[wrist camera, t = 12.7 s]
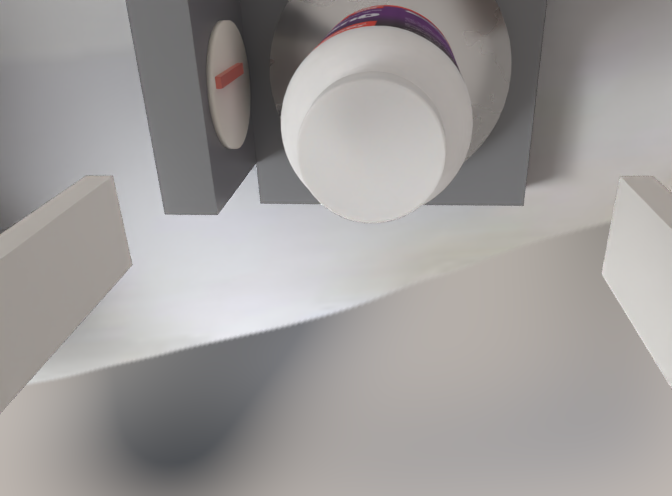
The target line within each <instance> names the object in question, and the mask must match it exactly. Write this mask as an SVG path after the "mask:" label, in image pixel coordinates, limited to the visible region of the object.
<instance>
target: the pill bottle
mask: <svg viewBox="0 0 672 496" xmlns="http://www.w3.org/2000/svg"><path fill="white" fill-rule="evenodd" d="M472 128H473V115H472V106H471V100H470V97H469V93H468V90H467V87H466V84H465V82H464V79H463V77H462V75H461V73H460V70H459V68H458V65H457V63H456V60H455V58H454V55H453V52H452V49H451V47H450V45H449V43H448V41H447V40H446V38H445V36H444V35H443V34H442V32H441V31H440V30H439V28H438V27H437V26H436V25H435V24H434V23H433V22H432V21H430V20H429V19H428V18H426V17H425V16H423V15H422V14H420V13H418V12H416V11H414V10H412V9H409V8H406V7H403V6H398V5H387V4H383V5H374V6H369V7H366V8H363V9H360V10H358V11H356V12H354V13H352V14H350V15H348V16H347V17H345V18H344V19H343V20H341V21H340V22H339V23H338V24H337V25H336V26H335V27H334V28H333V29H332V30H331V31H330V32H329V33H328V34H327V36H326V37H325V38H324V39H323V40H322V41H321V42H320V43H319V44H318V45H317V46H316V47H315V48H314V50H313V51H312V52H311V53H310V54H309V55H308V56H307V57H306V58H305V59H304V61H303V62H302V63H301V64H300V66H299V67H298V69H297V70H296V72H295V73H294V75H293V77H292V79H291V81H290V83H289V85H288V87H287V90H286V93H285V96H284V100H283V105H282V111H281V135H282V141H283V145H284V149H285V152H286V155H287V157H288V160H289V162H290V164H291V166H292V168H293V170H294V171H295V173H296V175H297V176H298V177H299V179H300V180H301V181H302V183H303V184H304V185H305V186H306V187H307V188H308V189H309V191H310V192H311V193H312V195H313V196H314V197H315V198H316V199H317V200H318V201H319V202H320V203H321V204H322V205H323V206H325V207H326V208H327V209H329V210H330V211H332V212H333V213H335V214H337V215H339V216H341V217H343V218H346V219H349V220H352V221H356V222H363V223H382V222H388V221H392V220H395V219H398V218H401V217H403V216H406V215H407V214H409V213H411V212H413V211H414V210H416V209H417V208H419V207H420V206H422V205H424V204H426V203H427V202H429V201H430V200H432V199H433V198H435V197H436V196H437V195H438V194H439V193H440V192H442V191H443V190H444V189H445V188H446V187H447V186H448V184H449V183H450V182H451V181H452V180H453V178H454V177H455V176H456V174H457V173H458V171H459V170H460V168H461V166H462V164H463V162H464V160H465V158H466V155H467V152H468V149H469V146H470V142H471V137H472Z"/></svg>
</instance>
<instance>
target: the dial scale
mask: <svg viewBox="0 0 672 496" xmlns="http://www.w3.org/2000/svg"><path fill="white" fill-rule="evenodd" d="M495 1H496V3H497V5H498V7H499V8H500V11H501V13H502V16H503V19H504V21H505V24H506V27H507V31H508V35H509V40H510V47H511V57H512V60H511V78H510V84H509V91H508V94H507V97H506V101H505V104H504V107H503V110H502V112H501V114H500V116H499V119H498V121H497V123H496V124H495V126H494V128H493V129H492V131H491V133H490V134H489V136H488V137H487V138H486V140H485V141H484V142H483V144H482V145H481V146H480V147H479V148H478V149H477V150H476V151H475V152H474V153H473V154H472V155H471V156H470V157H469V158H468V159H467V160H466V161H465V162H463V164H462V166H461V168H460V170H459V171H458V173H457V174H456V176H455V177H454V178H453V180H452V181H451V182H450V183H449V184H448V186H447V187H446V188H445V189H444V190H443V191H442V192H440V193H439V194H438V195H437V196H436V197H435V198H433V199H432V200H430V201H429V202H427V203H426V204H424V205H501V206H524V197H525V188H526V179H527V171H528V162H529V153H530V144H531V136H532V127H533V118H534V109H535V101H536V92H537V83H538V74H539V66H540V57H541V48H542V39H543V31H544V22H545V13H546V4H547V0H495ZM287 2H288V0H126V5H127V11H128V16H129V21H130V27H131V32H132V38H133V43H134V49H135V54H136V60H137V65H138V71H139V76H140V81H141V87H142V92H143V98H144V103H145V109H146V114H147V120H148V125H149V130H150V136H151V141H152V147H153V152H154V158H155V163H156V169H157V174H158V180H159V185H160V190H161V196H162V201H163V207H164V212H165V214H175V215H218V214H219V212H220V211H221V210H222V208H223V207H224V206H225V204H226V203H227V202H228V200H229V199H230V198H231V196H232V195H233V194H234V192H235V191H236V189H237V188H238V187H239V185H240V184H241V183H242V181H243V180H244V179H245V177H246V176H247V175H248V173H249V172H250V171H251V169H252V168H253V167H254V165H255V164H257V174H258V183H259V193H260V203H261V204H321V203H320V202H319V201H318V200H317V199H316V198H315V197H314V196H313V195H312V193H311V192H310V191H309V189H308V188H307V187H306V186H305V185H304V184H303V183H302V181H301V180H300V179H299V177H298V176H297V175H296V173H295V171H294V170H293V168H292V166H291V164H290V162H289V160H288V157H287V155H286V152H285V149H284V145H283V141H282V135H281V119H280V116H279V114H278V112H277V109H276V106H275V102H274V98H273V95H272V89H271V82H270V54H271V46H272V41H273V37H274V33H275V29H276V27H277V24H278V21H279V19H280V16H281V14H282V12H283V10H284V8H285V6H286V4H287Z"/></svg>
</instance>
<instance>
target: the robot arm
mask: <svg viewBox="0 0 672 496" xmlns="http://www.w3.org/2000/svg"><path fill="white" fill-rule="evenodd" d="M131 266H132V261H131V256H130V252H129V247H128V243H127V238H126V233H125V229H124V224H123V220H122V215H121V211H120V206H119V202H118V197H117V192H116V188H115V183H114V179H113V176H85V177H83V178H82V179H80V180H79V181H77V182H76V183H75V184H73V185H72V186H70V187H69V188H67V189H66V190H64V191H63V192H61V193H60V194H58V195H57V196H56V197H54V198H53V199H51V200H50V201H48V202H47V203H45V204H44V205H42V206H41V207H39V208H38V209H37V210H35V211H34V212H32V213H31V214H29V215H28V216H26V217H25V218H23V219H22V220H20V221H19V222H18V223H16V224H15V225H13V226H12V227H10V228H9V229H7V230H6V231H4V232H3V233H1V234H0V414H1V412H2V411H3V410H4V409H5V408H6V407H7V406H8V404H9V403H10V402H11V401H12V400H13V399H14V398H15V397H16V396H17V394H18V393H19V392H20V391H21V390H22V389H23V388H24V387H25V385H26V384H27V383H28V382H29V381H30V380H31V379H32V378H33V376H34V375H35V374H36V373H37V372H38V371H39V370H40V369H41V367H42V366H43V365H44V364H45V363H46V362H47V361H48V360H49V358H50V357H51V356H52V355H53V354H54V353H55V352H56V351H57V349H58V348H59V347H60V346H61V345H62V344H63V343H64V342H65V340H66V339H67V338H68V337H69V336H70V335H71V334H72V333H73V331H74V330H75V329H76V328H77V327H78V326H79V325H80V324H81V322H82V321H83V320H84V319H85V318H86V317H87V316H88V315H89V313H90V312H91V311H92V310H93V309H94V308H95V307H96V306H97V304H98V303H99V302H100V301H101V300H102V299H103V298H104V297H105V295H106V294H107V293H108V292H109V291H110V290H111V289H112V288H113V286H114V285H115V284H116V283H117V282H118V281H119V280H120V279H121V277H122V276H123V275H124V274H125V273H126V272H127V271H128V270H129V268H130V267H131ZM602 276H603V277H604V279H605V281H606V282H607V284H608V286H609V287H610V289H611V290H612V292H613V294H614V296H615V297H616V299H617V300H618V302H619V304H620V305H621V307H622V308H623V310H624V312H625V314H626V315H627V317H628V318H629V320H630V321H631V323H632V325H633V327H634V328H635V330H636V332H637V333H638V335H639V336H640V338H641V340H642V341H643V343H644V344H645V346H646V348H647V350H648V351H649V353H650V354H651V356H652V358H653V359H654V361H655V362H656V364H657V366H658V367H659V369H660V371H661V372H662V374H663V376H664V377H665V379H666V381H667V382H668V384H669V386H670V387H671V389H672V193H671V192H670V191H669V190H668V189H667V188H666V187H665V186H664V185H662V184H661V183H660V182H659V181H658V180H657V179H656V178H655V177H653V176H620V178H619V184H618V189H617V194H616V199H615V205H614V210H613V215H612V221H611V226H610V231H609V237H608V242H607V247H606V253H605V258H604V263H603V269H602Z"/></svg>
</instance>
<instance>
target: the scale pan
mask: <svg viewBox="0 0 672 496" xmlns="http://www.w3.org/2000/svg"><path fill="white" fill-rule="evenodd" d="M383 4H387V5H398V6H403V7H406V8H409V9H412V10H414V11H416V12H418V13H420V14H422V15H423V16H425V17H426V18H428V19H429V20H430V21H432V22H433V23H434V24H435V25H436V26H437V27H438V28H439V30H440V31H441V32H442V34H443V35H444V36H445V38H446V40H447V41H448V43H449V45H450V47H451V49H452V52H453V55H454V58H455V60H456V63H457V65H458V68H459V70H460V73H461V75H462V77H463V79H464V82H465V84H466V87H467V90H468V93H469V97H470V100H471V106H472V115H473V128H472V137H471V142H470V146H469V149H468V152H467V155H466V158H465V160H464V162H465V161H466V160H467V159H468V158H469V157H470V156H471V155H472V154H473V153H474V152H475V151H476V150H477V149H478V148H479V147H480V146H481V145H482V144H483V142H484V141H485V140H486V138H487V137H488V136H489V134H490V133H491V131H492V129H493V128H494V126H495V124H496V123H497V121H498V119H499V116H500V114H501V112H502V110H503V107H504V104H505V101H506V97H507V94H508V91H509V84H510V78H511V60H512V57H511V47H510V40H509V35H508V31H507V27H506V24H505V21H504V19H503V16H502V13H501V11H500V8H499V7H498V5H497V3H496V1H495V0H288V2H287V4H286V6H285V8H284V10H283V12H282V14H281V16H280V19H279V21H278V24H277V27H276V29H275V33H274V37H273V41H272V46H271V54H270V82H271V89H272V95H273V98H274V102H275V106H276V109H277V112H278V114H279V116H280V119H281V111H282V105H283V100H284V96H285V93H286V90H287V87H288V85H289V83H290V81H291V79H292V77H293V75H294V73H295V72H296V70H297V69H298V67H299V66H300V64H301V63H302V62H303V61H304V59H305V58H306V57H307V56H308V55H309V54H310V53H311V52H312V51H313V50H314V48H315V47H316V46H317V45H318V44H319V43H320V42H321V41H322V40H323V39H324V38H325V37H326V36H327V34H328V33H329V32H330V31H331V30H332V29H333V28H334V27H335V26H336V25H337V24H338V23H339V22H340V21H341V20H343V19H344V18H345V17H347V16H348V15H350V14H352V13H354V12H356V11H358V10H360V9H363V8H366V7H369V6H374V5H383Z"/></svg>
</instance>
